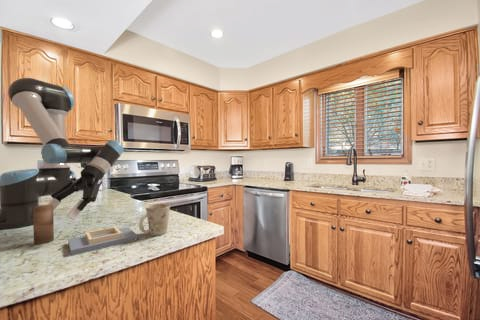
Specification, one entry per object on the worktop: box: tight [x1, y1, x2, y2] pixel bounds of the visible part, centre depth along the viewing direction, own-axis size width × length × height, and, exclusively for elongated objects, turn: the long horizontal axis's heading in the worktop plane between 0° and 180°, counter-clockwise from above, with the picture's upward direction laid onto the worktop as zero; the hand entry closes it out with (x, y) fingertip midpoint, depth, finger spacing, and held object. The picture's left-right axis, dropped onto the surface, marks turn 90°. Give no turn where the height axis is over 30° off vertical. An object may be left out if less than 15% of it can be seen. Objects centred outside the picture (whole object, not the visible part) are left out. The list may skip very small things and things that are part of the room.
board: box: [67, 226, 139, 256], centre depth 72 cm, size 12×18×3 cm, turn 132°
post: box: [32, 204, 55, 245], centre depth 73 cm, size 5×5×12 cm
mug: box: [138, 203, 171, 236], centre depth 79 cm, size 8×13×10 cm, turn 158°
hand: (56, 216), depth 75 cm, fingers open, 13 cm apart
